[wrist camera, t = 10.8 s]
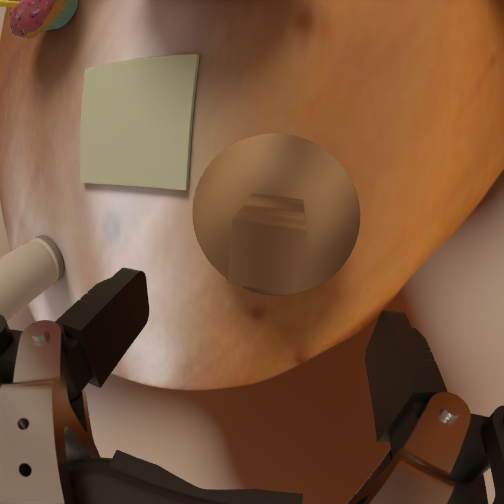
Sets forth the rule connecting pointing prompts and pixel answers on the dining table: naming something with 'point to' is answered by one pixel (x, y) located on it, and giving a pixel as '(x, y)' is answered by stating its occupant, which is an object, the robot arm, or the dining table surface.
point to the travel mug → (28, 273)
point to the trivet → (139, 122)
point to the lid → (276, 214)
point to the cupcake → (39, 15)
